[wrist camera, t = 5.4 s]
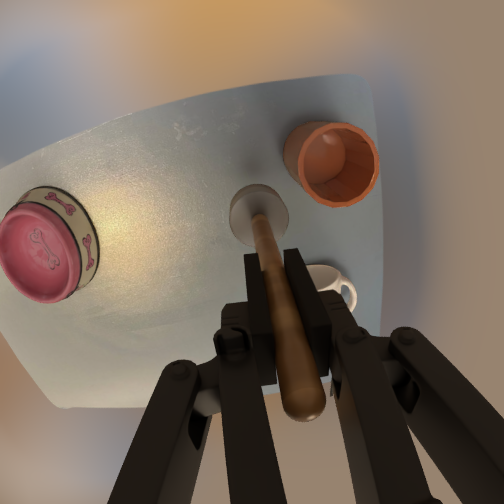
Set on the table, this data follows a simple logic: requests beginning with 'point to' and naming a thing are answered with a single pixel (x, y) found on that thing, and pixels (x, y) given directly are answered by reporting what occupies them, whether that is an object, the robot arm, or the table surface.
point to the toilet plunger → (279, 299)
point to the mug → (331, 281)
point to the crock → (332, 162)
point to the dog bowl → (48, 245)
